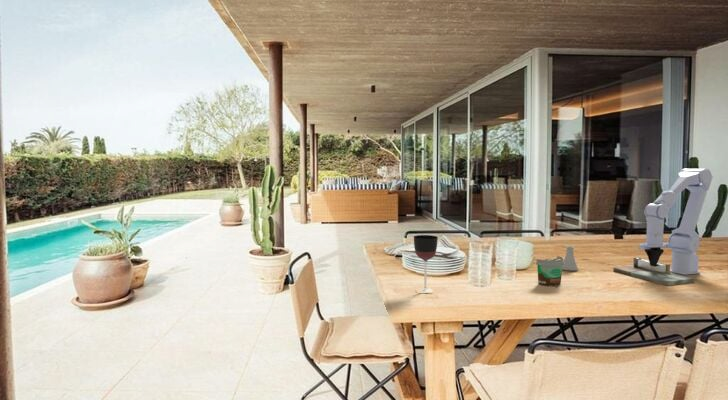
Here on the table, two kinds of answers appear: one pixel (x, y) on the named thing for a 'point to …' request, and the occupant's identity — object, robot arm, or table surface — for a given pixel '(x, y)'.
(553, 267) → the food container
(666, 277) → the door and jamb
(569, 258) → the flask
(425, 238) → the wineglass
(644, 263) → the lock bar
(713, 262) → the table surface
